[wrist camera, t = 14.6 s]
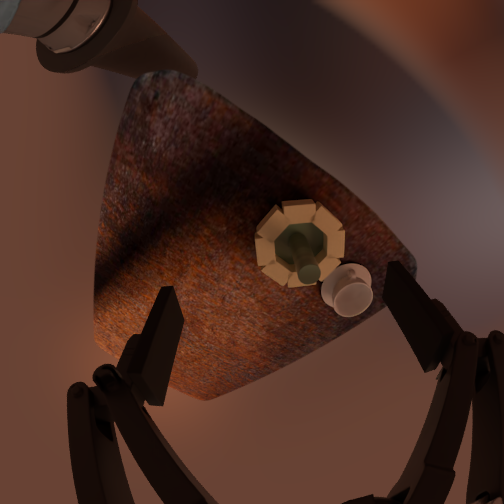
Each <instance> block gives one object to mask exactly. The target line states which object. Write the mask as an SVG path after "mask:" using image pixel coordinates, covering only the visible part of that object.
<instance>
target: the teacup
mask: <svg viewBox="0 0 504 504" xmlns="http://www.w3.org/2000/svg"><path fill="white" fill-rule="evenodd" d="M370 286H371V276H370V273H369V272H368V270H367V269H366V268H365V267H363V266H361V265H359V264H353V263H350V264H344V265H341V266H339V267H337V268H335V269H334V270H333V271H332V272H331V273H330V274H329V275H328V276H327V277H326V278H325V279H324V281H323V284H322V287H321V295H322V298H323V300H324V301H325V302H326V303H327V304H328V305H329V306H331V307H334V309H335V311H336V312H337V313H338V314H339V315H341V316H345V317H351V316H355V315H358V314H360V313H362V312H363V311H364V310H366V309H367V308H368V306H369V305H370V303H371V301H372V298H373V292H372V289H371V288H370Z"/></svg>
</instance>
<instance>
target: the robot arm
mask: <svg viewBox="0 0 504 504" xmlns="http://www.w3.org/2000/svg"><path fill="white" fill-rule="evenodd" d="M112 7H113V0H0V33H8V34H16V35H22V36H28V37H33V38H37V39H38V40H39V41H40V42H42V43H43V44H45V46H46V47H47V48H48V49H49V50H51V51H53V52H55V53H61V54H66V53H71V52H74V51H76V50H78V49H80V48H82V47H83V46H85V45H86V44H87V43H89V42H90V41H91V40H92V39H93V38H94V37H95V36H96V35H97V34H98V33H99V32H100V30H101V29H102V28H103V26H104V25H105V23H106V22H107V20H108V18H109V16H110V14H111V11H112ZM382 298H383V300H384V302H385V303H386V305H387V306H388V308H389V310H390V311H391V313H392V315H393V316H394V318H395V320H396V322H397V323H398V325H399V327H400V328H401V330H402V332H403V334H404V335H405V337H406V339H407V341H408V342H409V344H410V346H411V348H412V350H413V352H414V353H415V355H416V357H417V359H418V361H419V363H420V365H421V367H422V369H423V370H424V372H425V373H426V372H429V371H432V370H435V369H436V368H437V366H438V364H439V363H440V362H441V364H442V366H443V367H442V369H441V371H440V372H439V374H438V376H437V378H436V379H438V378H439V379H438V383H437V386H436V390H435V393H434V397H433V400H432V403H431V406H430V409H429V412H428V415H427V418H426V420H425V423H424V426H423V428H422V431H421V434H420V436H419V439H418V441H417V444H416V446H415V448H414V451H413V453H412V455H411V457H410V459H409V461H408V463H407V465H406V468H405V470H404V471H403V474H402V475H401V477H400V479H399V480H398V482H397V483H396V484H395V486H394V487H393V488H392V490H391V491H390V493H389V494H388V496H387V498H384V497H374V496H373V494H371V495H368V496H364V497H361V498H357V499H353V500H349V501H347V502H344V503H342V504H444V502H445V500H446V498H447V495H448V493H449V491H450V489H451V486H452V484H453V481H454V478H455V471H454V470H453V467H454V463H455V461H456V457H457V455H458V451H459V449H460V445H461V442H462V438H463V435H464V431H465V427H466V423H467V419H468V415H469V410H470V405H471V401H472V407H473V409H472V410H473V429H472V430H473V431H472V451H471V462H470V471H469V479H468V485H467V494H466V504H504V334H503V333H501V332H500V331H497V330H494V331H491V332H490V334H489V336H488V338H477V337H476V336H475V335H474V334H473V333H471V332H467V331H465V332H464V331H463V330H462V328H461V327H460V326H459V324H458V323H457V322H456V320H455V319H454V318H453V316H451V314H450V313H449V311H447V309H446V307H445V306H444V305H443V303H441V302H440V301H438V300H437V299H432V300H431V299H430V298H429V297H428V295H427V294H426V293H425V292H424V290H423V289H422V288H421V287H420V285H419V284H418V283H417V282H416V281H415V279H414V278H413V277H412V276H411V275H410V273H409V272H408V271H407V270H406V269H405V268H404V266H403V265H402V264H401V263H400V262H399V261H392V262H388V266H387V273H386V279H385V285H384V290H383V296H382ZM183 324H184V317H183V314H182V311H181V308H180V306H179V303H178V299H177V296H176V293H175V290H174V287H173V286H164V287H161V289H160V291H159V293H158V296H157V298H156V300H155V302H154V305H153V307H152V309H151V312H150V314H149V316H148V319H147V321H146V323H145V326H144V328H143V331H142V333H141V334H133V335H132V336H131V338H130V339H129V340H128V341H127V343H126V345H125V349H124V350H123V352H122V355H121V357H120V360H119V362H118V364H117V367H115V366H114V365H111V364H104V365H102V366H100V367H98V368H97V369H96V370H95V371H94V374H93V381H94V382H95V383H96V385H97V386H95V387H88V386H87V385H86V384H85V383H83V382H76V383H74V384H73V385H71V386H70V388H69V389H68V392H67V419H68V435H69V448H70V457H71V465H72V472H73V478H74V484H75V489H76V494H77V499H78V503H79V504H135V503H134V500H133V497H132V494H131V491H130V488H129V484H128V481H127V478H126V474H125V471H124V467H123V463H122V459H121V455H120V451H119V447H118V442H117V437H116V433H115V427H114V422H115V423H116V425H117V427H118V429H119V431H120V433H121V435H122V437H123V438H124V440H125V442H126V444H127V446H128V448H129V450H130V451H131V453H132V455H133V457H134V458H135V460H136V462H137V463H138V465H139V467H140V468H141V470H142V471H143V473H144V475H145V476H146V478H147V480H148V481H149V483H150V484H151V486H152V487H153V488H154V490H155V491H156V493H157V494H158V496H159V497H160V498H161V500H162V501H163V503H164V504H218V503H217V502H216V501H215V500H214V498H213V497H212V496H211V495H210V494H209V493H208V492H207V491H206V490H205V488H204V487H203V486H202V485H201V484H200V483H199V482H198V480H196V478H195V477H194V476H193V475H192V473H191V472H190V471H189V470H188V468H187V467H186V466H185V465H184V463H183V462H182V461H181V460H180V458H179V457H178V455H177V454H176V453H175V451H174V450H173V449H172V447H171V446H170V445H169V443H168V442H167V440H166V439H165V438H164V436H163V435H162V434H161V432H160V430H159V429H158V427H157V426H156V424H155V423H154V421H153V420H152V418H151V416H150V415H149V414H148V412H147V410H146V408H145V407H144V406H143V405H144V401H145V400H146V401H147V403H148V404H149V405H153V406H163V405H164V400H165V396H166V392H167V387H168V383H169V379H170V375H171V371H172V367H173V363H174V359H175V355H176V351H177V347H178V343H179V339H180V335H181V332H182V328H183Z"/></svg>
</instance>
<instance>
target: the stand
mask: <svg viewBox="0 0 504 504" xmlns="http://www.w3.org/2000/svg"><path fill="white" fill-rule="evenodd" d="M274 245H275V254H276V255H277V256H279V257H280V258H282V259H283V260H284V261H286V262H287V263H288V264H294V265H295V268H296V272H297V275H298V279H299V281H300V282H301V283H303V284H307V285H309V284H313V283H315V282H317V281H318V280H319V278H320V276H321V270H320V268H319V266H318V263H317V261H316V259H315V256H316V255H317V254H318V253H319V252H320V251H321V250H322V249H323V232H322V231H321V230H320V229H319V228H318V227H317V226H315V225H314V224H313V223H312V222H309V223H298V224H289V225H288V226H287V227H286V228H285V230H284V231H283V232H282V233H281V234H280V235H279V236H278V237H277V238H276V239H275V240H274Z"/></svg>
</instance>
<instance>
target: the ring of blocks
mask: <svg viewBox="0 0 504 504" xmlns="http://www.w3.org/2000/svg"><path fill="white" fill-rule="evenodd" d="M309 222H312V223H313V224H314V225H315V226H317V227H318V228H319V229H320V230H321V231H322V232H323V249H322V250H321V251H320V252H319V253H318V254H317V255H316V256H315V259H316V261H317V263H318V266H319V268H320V270H321V276H320V278H319V280H320V281H321V282H322V281H323V280H324V279H325V278H326V277H327V276H328V275H329V274H330V273H331V272H332V271H333V270H334V269H335V268H336V267H337V266H338V265H339V264H340V263H341V261H340V259H339V258H341V257H344V242H345V230H344V229H343V227H342V223H341V222H340V221H339V220H338V219H337V218H336V217H335V216H334V215H333V214H332V213H331V212H330V211H329V210H327V209H326V208H325V207H324V206H323V205H322V204H321V203H320V202H319V201H317V202H316V203H314V201H313V200H312V199H303V200H291V201H282V209H281V208H280V207H279V206H277V205H275V206H274V207H273V208H272V209H271V210H270V211H269V213H268V214H267V215H266V216H265V217H264V218H263V220H262V221H261V222H260V223H259V224H258V225H257V226H256V228H257V232H255V246H256V254H257V263H258V266H261V271H262V272H263V273H265V274H266V275H268V276H269V277H270V278H272V279H273V280H275V281H276V282H278V283H279V284H281V285H282V286H283V285H284V284H285V283H286V282H287V283H288V287H298V286H307V284H303V283H301V282H300V281H299V279H298V275H297V272H296V268H295V265H294V264H288V263H287V262H286V261H284V260H283V259H282V258H280V257H279V256H277V255H276V254H275V245H274V240H275V239H276V238H277V237H278V236H279V235H280V234H281V233H282V232H283V231H284V230H285V228H286V227H287V226H288V225H289V224H298V223H309ZM309 285H316V282H315V283H313V284H309Z"/></svg>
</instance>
